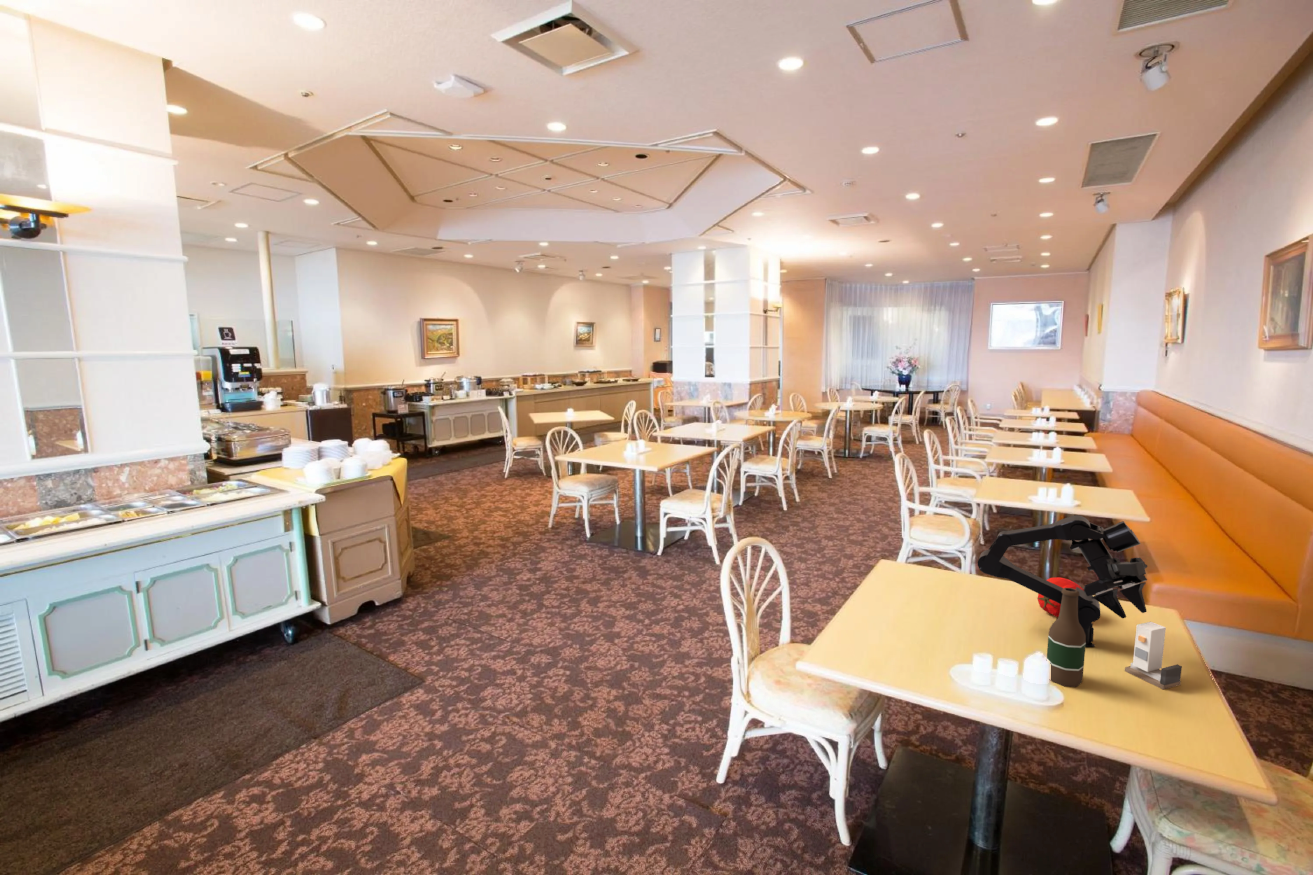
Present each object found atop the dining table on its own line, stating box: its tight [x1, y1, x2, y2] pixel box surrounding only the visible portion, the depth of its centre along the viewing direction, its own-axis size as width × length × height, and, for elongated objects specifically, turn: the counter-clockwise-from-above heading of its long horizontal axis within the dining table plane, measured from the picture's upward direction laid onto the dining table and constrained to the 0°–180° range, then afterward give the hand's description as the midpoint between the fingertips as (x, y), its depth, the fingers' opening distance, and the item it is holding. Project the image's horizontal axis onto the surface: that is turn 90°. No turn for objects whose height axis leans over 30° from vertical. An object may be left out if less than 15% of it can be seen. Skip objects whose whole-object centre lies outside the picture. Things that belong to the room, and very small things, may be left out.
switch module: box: [1132, 621, 1167, 672], centre depth 153 cm, size 4×6×11 cm, turn 107°
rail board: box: [1124, 662, 1182, 690], centre depth 153 cm, size 9×6×5 cm, turn 17°
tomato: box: [1037, 576, 1084, 618], centre depth 189 cm, size 13×13×13 cm
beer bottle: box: [1046, 588, 1086, 688], centre depth 152 cm, size 8×8×24 cm
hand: (1134, 615), depth 158 cm, fingers open, 9 cm apart
